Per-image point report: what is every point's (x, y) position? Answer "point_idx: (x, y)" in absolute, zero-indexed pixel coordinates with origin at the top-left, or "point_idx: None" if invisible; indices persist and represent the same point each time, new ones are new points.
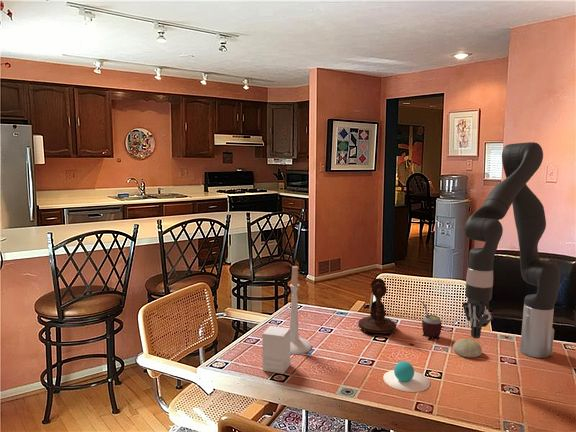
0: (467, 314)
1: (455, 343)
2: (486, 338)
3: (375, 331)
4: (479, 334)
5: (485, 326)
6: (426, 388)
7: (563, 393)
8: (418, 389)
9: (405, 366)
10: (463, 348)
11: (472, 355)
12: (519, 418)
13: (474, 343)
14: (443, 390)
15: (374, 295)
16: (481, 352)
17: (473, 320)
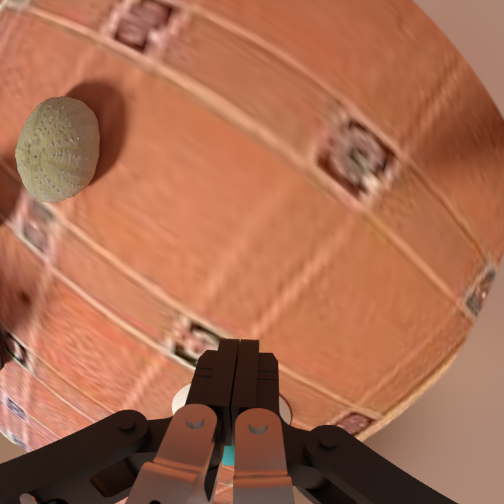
0: (121, 493)
1: (36, 197)
2: (10, 40)
3: (2, 359)
4: (276, 375)
5: (341, 432)
6: (284, 402)
7: (408, 16)
8: (283, 416)
9: None
10: (70, 186)
11: (97, 151)
12: (477, 258)
13: (53, 131)
14: (303, 370)
15: None
16: (86, 105)
17: (214, 483)
